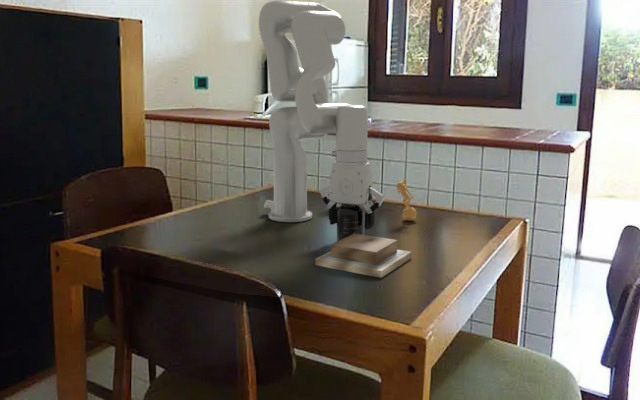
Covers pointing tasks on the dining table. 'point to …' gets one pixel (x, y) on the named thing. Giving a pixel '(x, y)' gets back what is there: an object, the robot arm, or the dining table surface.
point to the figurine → (408, 212)
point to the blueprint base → (362, 268)
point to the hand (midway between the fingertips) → (351, 225)
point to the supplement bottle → (349, 220)
